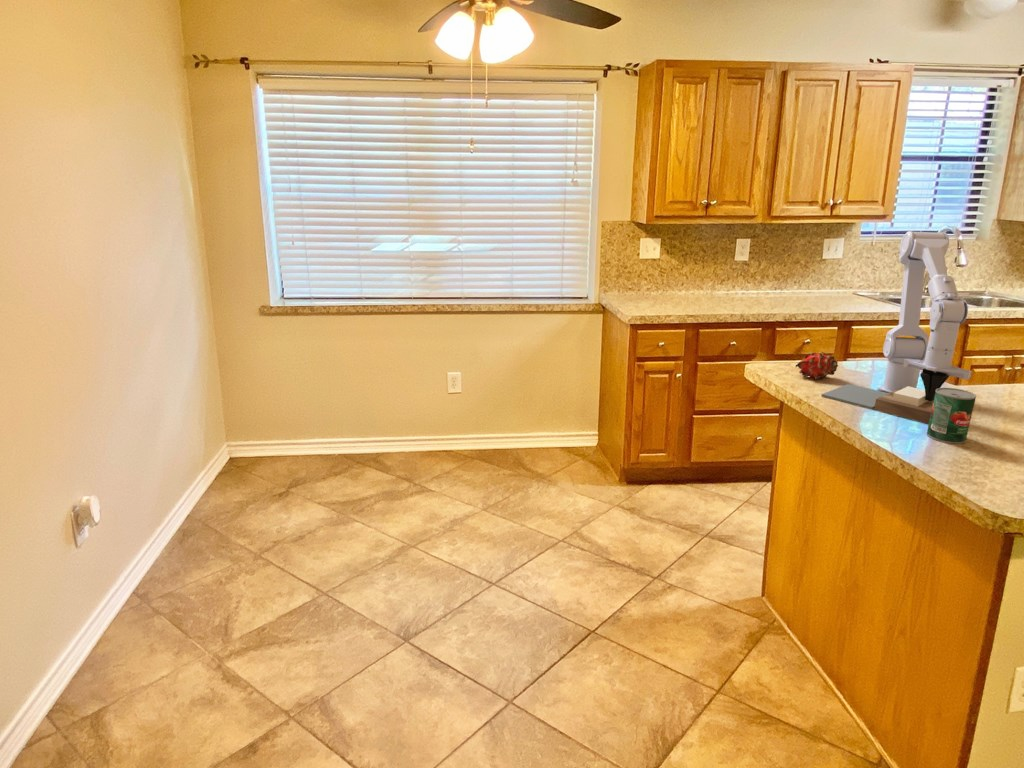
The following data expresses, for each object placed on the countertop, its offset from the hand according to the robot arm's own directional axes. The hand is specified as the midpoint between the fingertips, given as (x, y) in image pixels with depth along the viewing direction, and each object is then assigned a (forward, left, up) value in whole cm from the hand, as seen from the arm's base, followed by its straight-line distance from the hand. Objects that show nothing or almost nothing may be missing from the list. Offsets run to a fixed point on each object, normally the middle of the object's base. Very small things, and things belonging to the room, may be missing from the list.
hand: (929, 400), depth 170 cm
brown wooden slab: (-1, -3, -4) cm, 5 cm away
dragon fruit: (-9, -34, -4) cm, 35 cm away
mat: (-1, -17, -4) cm, 18 cm away
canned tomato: (+14, +9, -4) cm, 17 cm away
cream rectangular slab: (0, -4, 0) cm, 4 cm away
